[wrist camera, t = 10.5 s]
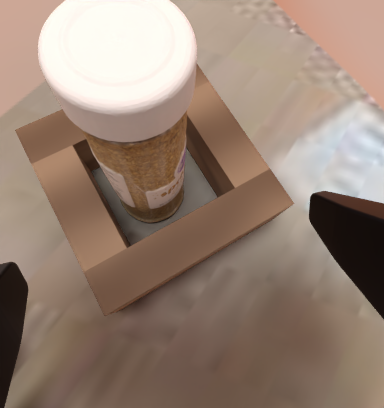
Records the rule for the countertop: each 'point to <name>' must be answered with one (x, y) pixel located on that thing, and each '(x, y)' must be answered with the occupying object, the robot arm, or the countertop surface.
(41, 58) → the sprinkles bottle
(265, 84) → the countertop surface
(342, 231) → the robot arm
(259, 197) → the socket block
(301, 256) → the countertop surface
